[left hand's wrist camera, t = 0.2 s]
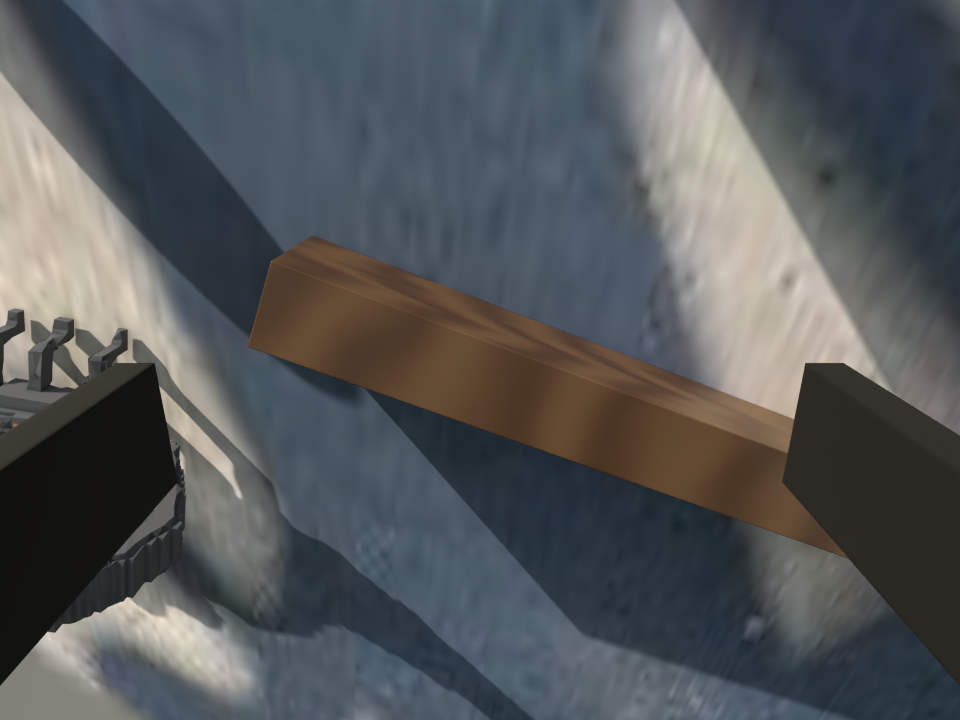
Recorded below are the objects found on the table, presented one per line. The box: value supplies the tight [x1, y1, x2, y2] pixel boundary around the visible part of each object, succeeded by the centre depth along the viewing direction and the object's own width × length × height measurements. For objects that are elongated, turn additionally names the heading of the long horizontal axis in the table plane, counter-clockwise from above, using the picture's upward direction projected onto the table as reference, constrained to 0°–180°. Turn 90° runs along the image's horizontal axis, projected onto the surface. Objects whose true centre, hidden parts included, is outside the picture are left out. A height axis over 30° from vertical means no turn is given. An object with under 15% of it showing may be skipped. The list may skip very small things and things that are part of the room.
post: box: [248, 236, 848, 558], centre depth 39 cm, size 57×5×8 cm, turn 69°
